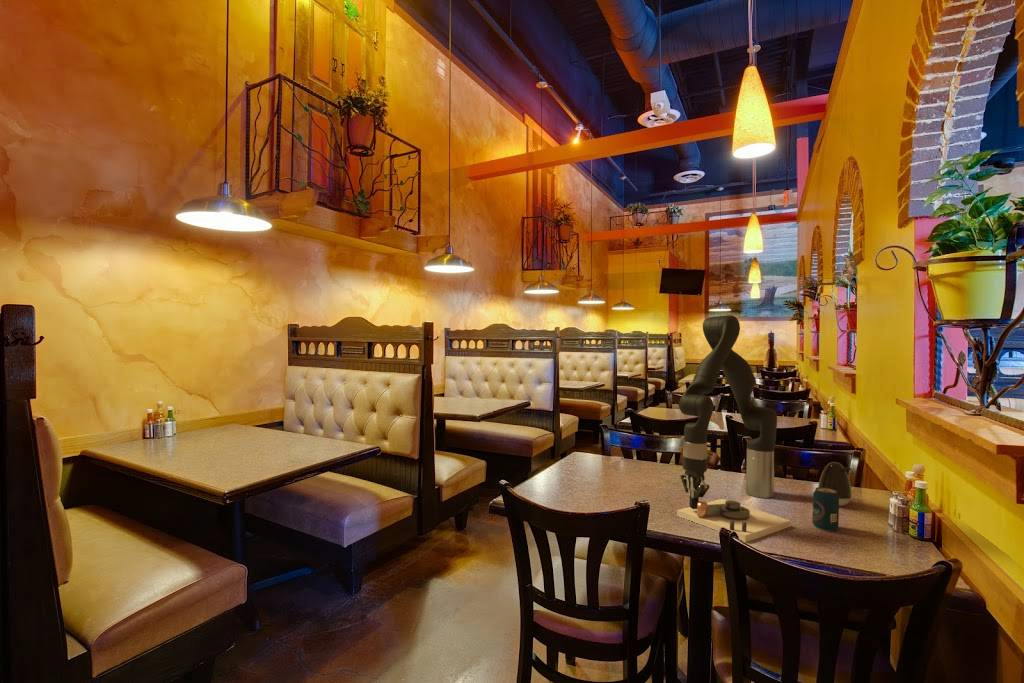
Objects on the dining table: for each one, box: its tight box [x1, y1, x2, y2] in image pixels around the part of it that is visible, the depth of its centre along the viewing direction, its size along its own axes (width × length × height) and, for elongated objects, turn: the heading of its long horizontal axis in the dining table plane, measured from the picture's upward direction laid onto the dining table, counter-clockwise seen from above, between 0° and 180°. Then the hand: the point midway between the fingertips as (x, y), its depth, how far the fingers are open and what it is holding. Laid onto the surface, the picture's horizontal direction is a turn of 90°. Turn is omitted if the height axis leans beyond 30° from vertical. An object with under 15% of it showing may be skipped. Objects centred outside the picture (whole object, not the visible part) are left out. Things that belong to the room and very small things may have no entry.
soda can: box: [811, 486, 840, 532], centre depth 154 cm, size 7×7×12 cm
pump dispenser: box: [817, 461, 853, 507], centre depth 178 cm, size 10×10×15 cm
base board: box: [676, 498, 791, 543], centre depth 158 cm, size 24×24×4 cm
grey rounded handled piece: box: [697, 500, 750, 519], centre depth 158 cm, size 18×10×4 cm, turn 102°
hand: (693, 508), depth 161 cm, fingers closed
